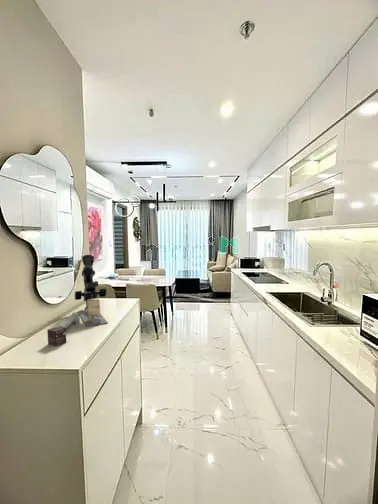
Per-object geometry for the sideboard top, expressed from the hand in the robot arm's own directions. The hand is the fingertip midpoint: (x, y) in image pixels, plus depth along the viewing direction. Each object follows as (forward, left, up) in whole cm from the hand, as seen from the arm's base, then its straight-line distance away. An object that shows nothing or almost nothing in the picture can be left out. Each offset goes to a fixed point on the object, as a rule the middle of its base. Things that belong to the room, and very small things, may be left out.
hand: (92, 305), depth 181 cm
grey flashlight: (+8, -15, -10) cm, 20 cm away
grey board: (-2, 0, -9) cm, 9 cm away
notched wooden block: (+3, 0, -9) cm, 10 cm away
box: (+33, -22, -9) cm, 41 cm away
